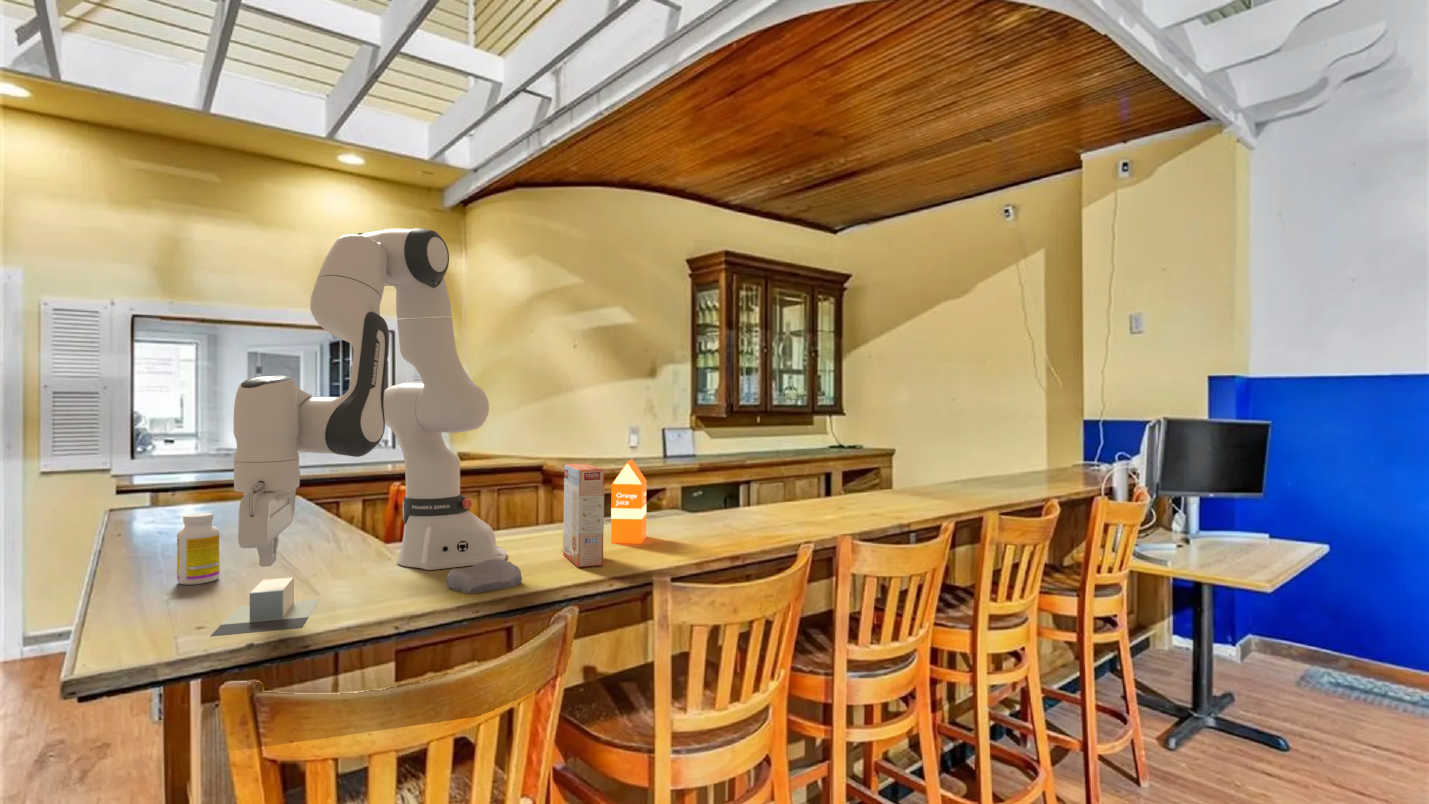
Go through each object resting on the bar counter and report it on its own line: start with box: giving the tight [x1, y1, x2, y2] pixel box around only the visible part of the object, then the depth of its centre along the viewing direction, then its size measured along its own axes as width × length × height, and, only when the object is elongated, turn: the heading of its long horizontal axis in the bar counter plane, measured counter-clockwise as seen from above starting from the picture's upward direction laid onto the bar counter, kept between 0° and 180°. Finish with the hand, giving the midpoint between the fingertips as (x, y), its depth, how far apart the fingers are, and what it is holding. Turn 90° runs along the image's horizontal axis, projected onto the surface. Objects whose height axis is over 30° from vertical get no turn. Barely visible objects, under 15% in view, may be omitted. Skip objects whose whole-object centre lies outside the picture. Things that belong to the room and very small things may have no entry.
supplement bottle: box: [176, 512, 220, 586], centre depth 138 cm, size 7×7×13 cm
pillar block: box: [249, 576, 295, 622], centre depth 118 cm, size 4×4×9 cm
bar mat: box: [210, 599, 320, 637], centre depth 116 cm, size 12×16×1 cm
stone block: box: [446, 559, 523, 595], centre depth 137 cm, size 12×5×10 cm
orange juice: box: [610, 458, 648, 544], centre depth 181 cm, size 8×9×20 cm
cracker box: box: [562, 463, 606, 568], centre depth 158 cm, size 14×6×21 cm, turn 25°
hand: (268, 564), depth 114 cm, fingers closed
